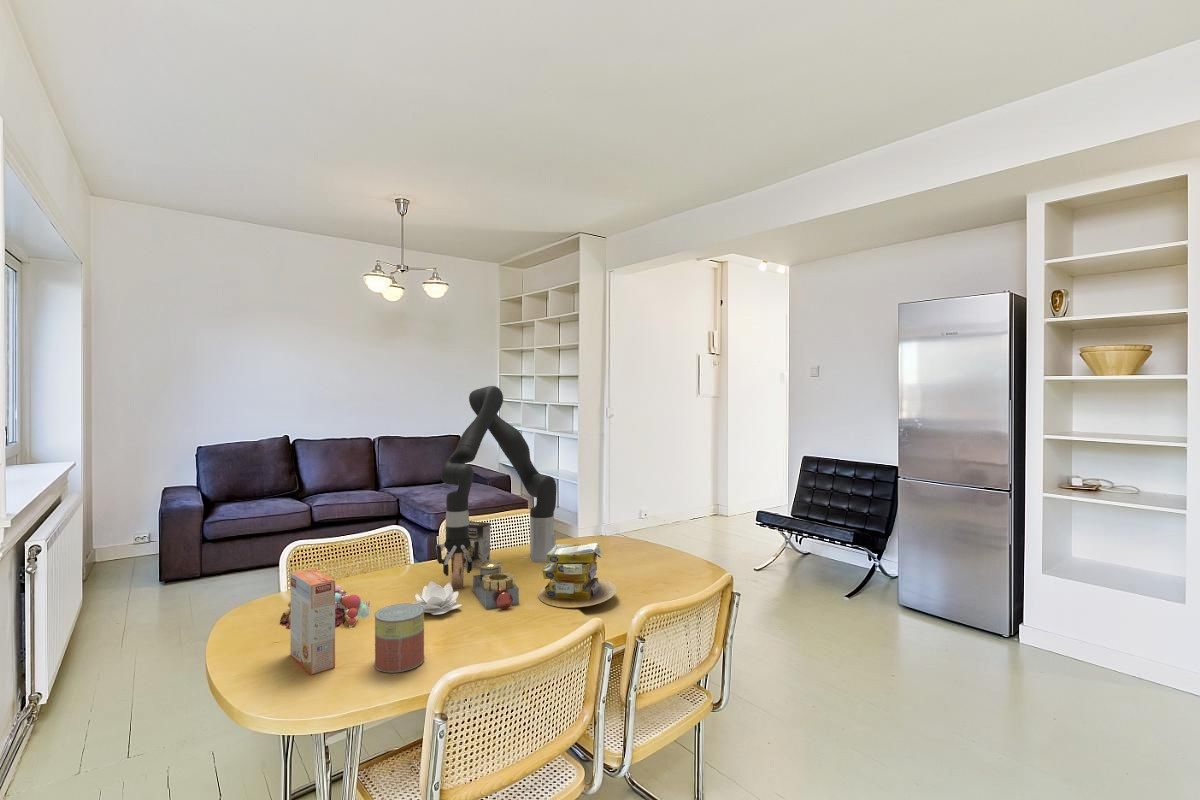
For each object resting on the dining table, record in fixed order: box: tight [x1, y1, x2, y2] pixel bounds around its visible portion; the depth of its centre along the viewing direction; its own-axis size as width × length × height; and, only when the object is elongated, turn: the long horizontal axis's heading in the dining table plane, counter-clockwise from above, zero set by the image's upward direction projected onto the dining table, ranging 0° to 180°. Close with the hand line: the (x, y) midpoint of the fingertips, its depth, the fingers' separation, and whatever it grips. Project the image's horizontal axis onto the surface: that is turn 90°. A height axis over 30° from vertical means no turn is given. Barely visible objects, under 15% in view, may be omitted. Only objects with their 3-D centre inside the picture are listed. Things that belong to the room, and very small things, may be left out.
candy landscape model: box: [279, 584, 372, 630], centre depth 168 cm, size 25×24×9 cm
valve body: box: [472, 559, 520, 610], centre depth 183 cm, size 21×10×9 cm, turn 25°
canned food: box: [374, 602, 425, 674], centre depth 140 cm, size 11×11×12 cm
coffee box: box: [464, 520, 491, 570], centre depth 218 cm, size 9×6×16 cm
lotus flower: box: [411, 580, 463, 616], centre depth 173 cm, size 14×15×9 cm
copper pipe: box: [450, 552, 465, 591], centre depth 194 cm, size 4×4×12 cm
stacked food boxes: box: [537, 542, 617, 608], centre depth 187 cm, size 25×25×17 cm
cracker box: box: [290, 568, 336, 676], centre depth 140 cm, size 14×6×21 cm, turn 45°
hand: (457, 573), depth 194 cm, fingers open, 6 cm apart
